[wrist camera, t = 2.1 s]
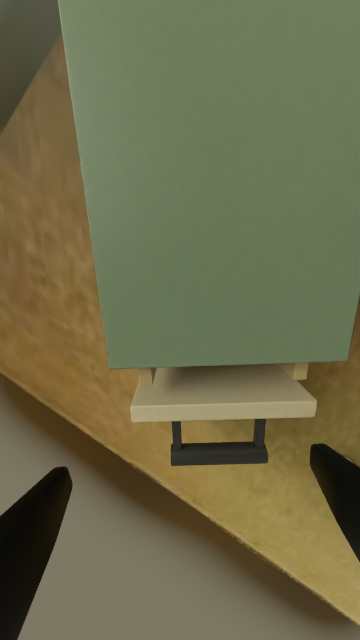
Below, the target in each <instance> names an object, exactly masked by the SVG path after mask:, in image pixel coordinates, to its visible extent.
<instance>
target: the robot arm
mask: <svg viewBox="0 0 360 640" xmlns="http://www.w3.org/2000/svg"><path fill="white" fill-rule="evenodd" d="M310 465H311V468H312V471H313V473H314V475H315V477H316V479H317V481H318V483H319V486H320V488H321V490H322V492H323V494H324V496H325V498H326V500H327V502H328V504H329V507H330V509H331V511H332V513H333V515H334V517H335V519H336V521H337V523H338V525H339V526H340V528H341V530H342V532H343V534H344V535H345V537H346V539H347V541H348V542H349V544H350V546H351V548H352V549H353V551H354V553H355V555H356V556H357V558H358V560H359V562H360V467H358V466H357V465H355V464H354V463H352V462H351V461H349V460H348V459H346V458H345V457H343V456H342V455H340V454H339V453H337V452H336V451H335V450H333V449H332V448H330V447H329V446H327V445H325V444H323V443H319V444H312V445H311V450H310ZM71 491H72V480H71V477H70V474H69V471H68V468H67V467H65V466H63V467H56V468H54V469H53V470H52V471H50V472H49V473H48V474H47V475H46V476H45V477H43V478H42V479H41V480H40V481H39V482H38V483H37V484H36V485H35V486H33V487H32V488H31V489H30V490H29V491H28V492H27V493H26V494H25V495H23V496H22V497H21V498H20V499H19V500H18V501H17V502H16V503H14V504H13V505H12V506H11V507H10V508H9V509H8V510H7V511H6V512H4V513H3V515H1V516H0V640H17V639H18V637H19V634H20V631H21V629H22V626H23V624H24V621H25V619H26V616H27V614H28V611H29V608H30V606H31V603H32V601H33V599H34V596H35V593H36V591H37V588H38V586H39V583H40V581H41V578H42V576H43V573H44V571H45V568H46V566H47V563H48V561H49V558H50V555H51V553H52V550H53V547H54V545H55V542H56V539H57V536H58V533H59V530H60V527H61V523H62V520H63V517H64V513H65V510H66V507H67V504H68V501H69V498H70V494H71Z"/></svg>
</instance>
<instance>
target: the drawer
mask: <svg viewBox="0 0 360 640" xmlns="http://www.w3.org/2000/svg"><path fill="white" fill-rule="evenodd" d="M308 366H309V363H284V364H253V365H223V366H192V367H162V368H138V370H139V383H138V386H137V389H136V392H135V395H134V397H133V400H132V403H131V406H130V410H131V419H132V422H167V421H172V432H173V444H171V465H172V466H184V465H222V464H260V463H267V462H268V453H267V449H266V446H265V444H264V436H265V424H266V419H269V418H303V417H315V413H316V407H317V400H316V399H315V398H314V397H313V396H312V395H311V394H310V393H309V392H308V391H307V390H306V389H305V388H304V387H303V386H302V385H301V384H300V383H299V382H298V381H297V380H306V379H307V373H308ZM235 419H255V424H254V439H253V442H219V443H183V444H182V441H181V421H201V420H235Z"/></svg>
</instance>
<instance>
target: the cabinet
mask: <svg viewBox="0 0 360 640" xmlns="http://www.w3.org/2000/svg"><path fill="white" fill-rule="evenodd" d="M58 7H59V13H60V21H61V28H62V35H63V42H64V49H65V56H66V64H67V71H68V78H69V85H70V92H71V99H72V106H73V114H74V121H75V128H76V135H77V142H78V149H79V156H80V163H81V171H82V178H83V185H84V192H85V199H86V206H87V213H88V221H89V228H90V235H91V242H92V249H93V256H94V263H95V270H96V278H97V285H98V292H99V299H100V306H101V313H102V320H103V327H104V335H105V342H106V349H107V356H108V363H109V369H131V368H162V367H192V366H223V365H253V364H284V363H314V362H344V361H347V360H348V355H349V350H350V345H351V339H352V334H353V329H354V323H355V318H356V313H357V307H358V302H359V297H360V0H58Z"/></svg>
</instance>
